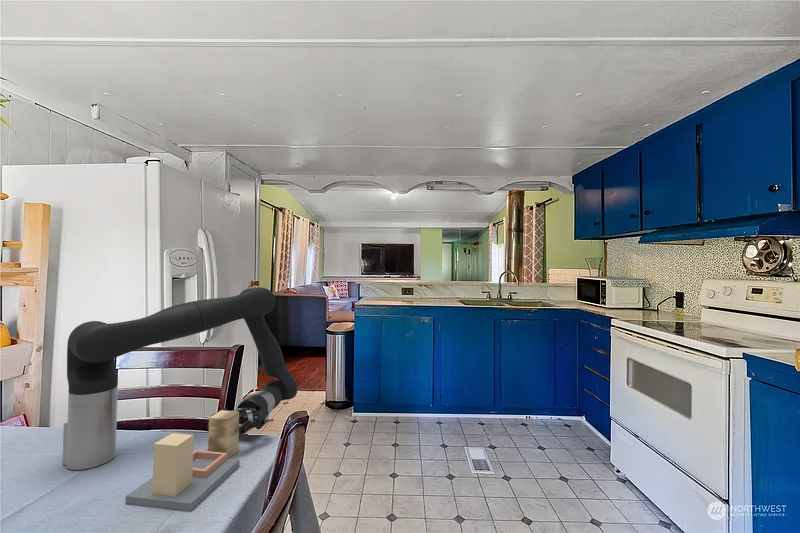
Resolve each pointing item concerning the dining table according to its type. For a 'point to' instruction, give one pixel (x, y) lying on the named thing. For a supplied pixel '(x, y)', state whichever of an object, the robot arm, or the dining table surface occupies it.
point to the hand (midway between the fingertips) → (224, 429)
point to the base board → (186, 494)
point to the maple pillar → (224, 432)
